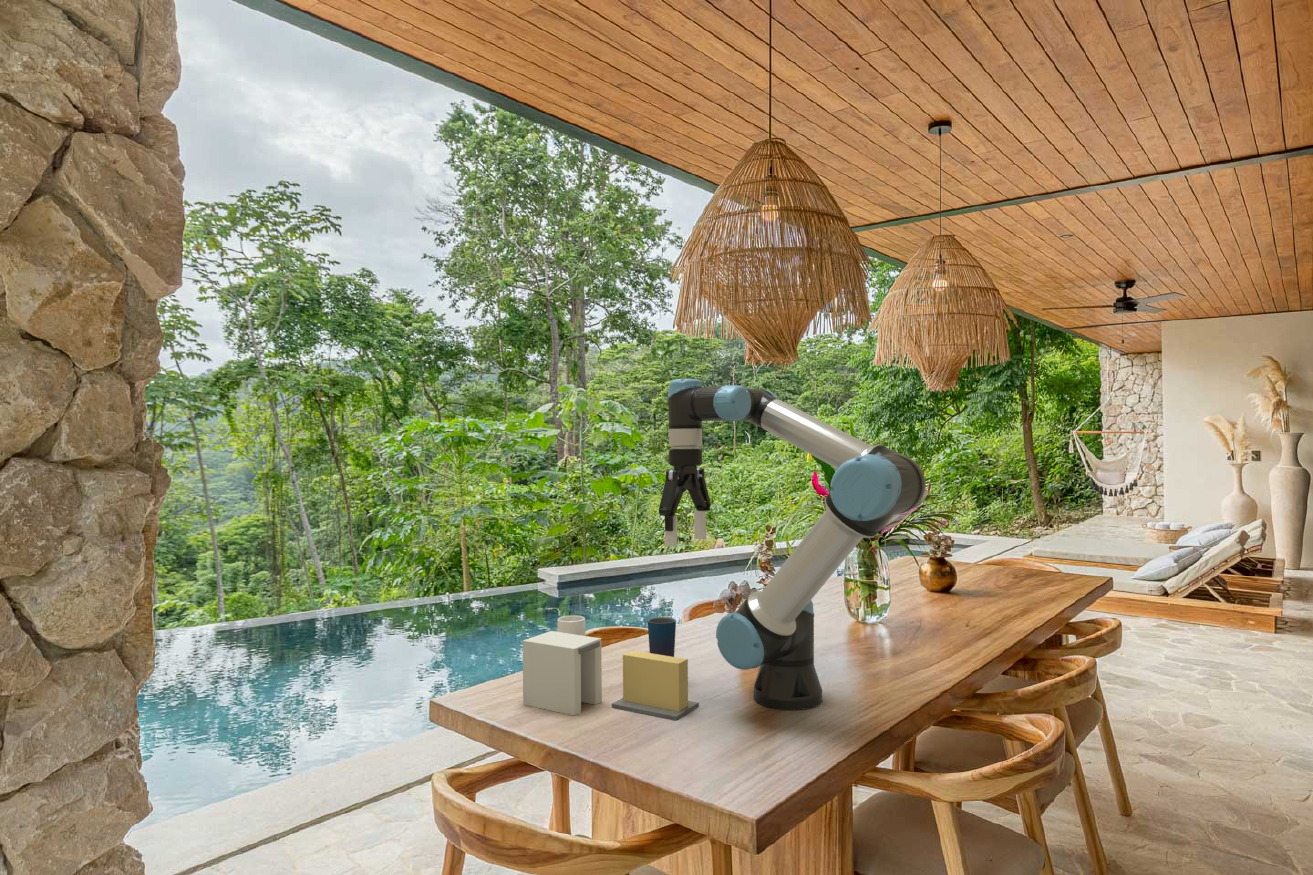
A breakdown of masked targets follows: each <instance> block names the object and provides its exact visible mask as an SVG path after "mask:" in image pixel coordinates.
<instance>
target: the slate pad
mask: <svg viewBox="0 0 1313 875" xmlns="http://www.w3.org/2000/svg"><path fill="white" fill-rule="evenodd" d="M699 706H700V702H699V701H692V700H688V706H687V707H685V708H684V709H682V710H680V711H674V710H669V709H664V708H659V707H654V706H649V705H644V704H639V703H633V702H628V701H623V697H622V698H620V699H618V700H616V701H614V702H612V703H611V708H612V709H617V710H622V711H627V712H633V713H638V714H641V715H648V716H652V717H657V718H662V719H667V720H671V721H678V720H679V719H681V718H683V717H685V715H687V714H689V713H690V712H692V711H694V710H695V709H697V708H699Z"/></svg>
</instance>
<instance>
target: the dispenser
mask: <svg viewBox="0 0 1313 875" xmlns="http://www.w3.org/2000/svg"><path fill="white" fill-rule="evenodd" d="M602 667H603V666H602V638H601V637H596V636H595V637H594V636H588V635H587V636H586V635H585V636H582V635H575V634H569V633H562V632H557V631H556V630H555V631H554V630H550V631H547V632H544V633H541V634H538V635H535V636H533V637H530V638H526V639H524V640H522V705H524V706H527V707H528V706H529V707H533V708H538V709H543V710H546V711H547V710H548V711H552V712H556V713H559V714H560V713H562V714H566V715H571V716H573V717H574V716H577V715H578V714H580V713H582V703H585V704H589V705H590V704H591V705H596V706H597V705H598V704H600V703H602V702H603V698H602V697H603V696H602V695H603V694H602V692H603V690H602V689H603V687H602V686H603V684H602V681H603V680H602V672H603V671H602Z"/></svg>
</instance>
